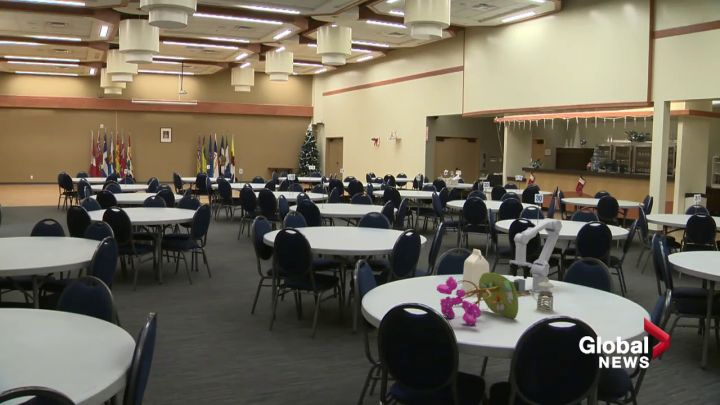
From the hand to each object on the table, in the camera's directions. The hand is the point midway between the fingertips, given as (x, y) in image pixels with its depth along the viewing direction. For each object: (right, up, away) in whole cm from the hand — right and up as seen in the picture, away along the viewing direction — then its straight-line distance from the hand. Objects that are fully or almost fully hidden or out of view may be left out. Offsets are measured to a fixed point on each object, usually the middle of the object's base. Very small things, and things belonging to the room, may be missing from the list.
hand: (520, 277), depth 374 cm
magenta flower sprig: (-37, -14, -60) cm, 72 cm away
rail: (-4, -10, -2) cm, 11 cm away
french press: (+2, -13, -40) cm, 42 cm away
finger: (0, -8, +1) cm, 8 cm away
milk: (-27, -10, -4) cm, 28 cm away
